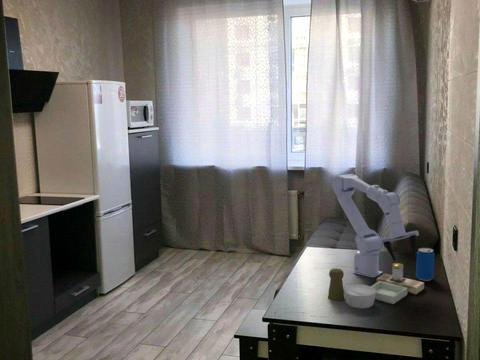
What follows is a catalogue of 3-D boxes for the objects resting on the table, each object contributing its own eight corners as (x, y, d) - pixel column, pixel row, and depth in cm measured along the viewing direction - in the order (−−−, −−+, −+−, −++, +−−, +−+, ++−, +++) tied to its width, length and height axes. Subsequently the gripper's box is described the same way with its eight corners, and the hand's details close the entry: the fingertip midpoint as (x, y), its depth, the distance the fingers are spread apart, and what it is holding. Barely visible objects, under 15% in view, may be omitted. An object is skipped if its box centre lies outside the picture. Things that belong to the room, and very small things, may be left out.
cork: (334, 302, 185) (334, 273, 183) (324, 297, 190) (324, 268, 188) (348, 299, 187) (348, 270, 185) (337, 293, 193) (337, 265, 191)
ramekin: (341, 307, 180) (341, 293, 179) (346, 296, 191) (346, 282, 190) (373, 312, 176) (374, 297, 175) (377, 299, 186) (378, 286, 186)
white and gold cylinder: (390, 286, 199) (390, 265, 197) (394, 283, 202) (395, 262, 200) (400, 288, 196) (400, 267, 195) (404, 285, 199) (405, 264, 198)
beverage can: (434, 282, 202) (435, 252, 200) (417, 281, 203) (418, 252, 201) (431, 276, 208) (433, 247, 206) (415, 275, 210) (416, 247, 208)
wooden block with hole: (376, 284, 201) (376, 278, 201) (384, 279, 206) (384, 273, 206) (416, 294, 190) (416, 287, 190) (423, 288, 196) (424, 282, 195)
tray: (365, 296, 189) (365, 289, 189) (379, 287, 198) (379, 281, 197) (393, 304, 182) (393, 297, 182) (407, 294, 190) (407, 287, 190)
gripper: (375, 228, 197) (384, 263, 195) (413, 219, 192) (423, 254, 190) (377, 227, 204) (386, 261, 202) (414, 219, 199) (424, 253, 196)
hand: (404, 258), depth 196 cm, fingers open, 7 cm apart
